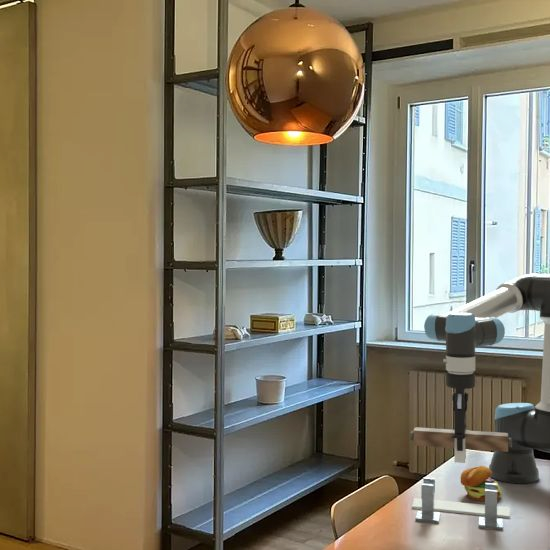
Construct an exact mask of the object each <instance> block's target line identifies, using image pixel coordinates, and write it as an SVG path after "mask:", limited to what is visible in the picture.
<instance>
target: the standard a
mask: <svg viewBox="0 0 550 550" xmlns="http://www.w3.org/2000/svg"><path fill="white" fill-rule="evenodd" d="M422 482H423V483H421V486H420V487H421V488H420V489H421V492H420V493H421V494H420V495H421V496H420V497H421V498H420V499H422V509H421V510H420V509H417V512H416V516H415V522H420V523H421V522H422V523H430V524H439V523H440V518H441V512H439V511H434V500H435V493H436V478H435V477H427V476H426V477H425V476H424V477H423V479H422Z"/></svg>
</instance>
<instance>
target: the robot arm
mask: <svg viewBox="0 0 550 550" xmlns="http://www.w3.org/2000/svg"><path fill="white" fill-rule="evenodd" d="M519 311H537V312H539V318H540V320H542V321H543V323H544V331H543V332H544V333H543V349H542V350H543V351H542V352H543V353H542V365H541V366H542V369H541V370H542V371H541V388H540V389H541V390H540V391H541V392H540V401H539V402H538V403H537V404H536V405H535V406H534V404H533V403H531V402H530V403H528V402H510V403H503V404H499V405H498V406H496V408H495V412H494V414H495V415H494V419H493V420H494V432H499V433H508V438H512V447H508V452H503V451H493V455H492V457H491V460H490V464H489V466H488V468H489V469H490V470H491V471H492V475H491V476H490V478H491V479H494V480H497V481H501V482H505V483H511V484H531V483H535V482H537V481H539V478H540V471H539V469H538V468H537V462H536V459H535V456H534V450H538V451H542V452H544V453H545V452H546V453H549V454H550V273H538V272H537V273H529V274H528V273H527V274H524V275H520V276H518V277H515V278H512V279H510V280H509V281H506V282H503V283H501V284H500V285H499V286H497V288H496V289H495V290H494V291H492V292H489V293H488V294H485V295H482V296H481V297H478V298H477V299H474V300H471V301H470V302H468V303H465V304H464V305H461V306H460V307H456V308H455V309H453V310H450V311H448V312H446V313H442V314H441V313H432V314H429V315H428V316H427V317H426V318H425V321H424V325H423V328H424V334H425V335H426V337H427V338H429V340H433V341H438V342H445V358H443V360H442V361H443V363H445V370H446V372H445V386H446V387H447V388H450V389H455V391H453V392H452V396H451V398H452V401H453V402H452V404H453V405H452V406H453V407H452V409H453V411H454V430H455V434H454V435H452V438H455V448H454V463H459V464H466V458H467V449H465V430H467V431H469V429H467V422H466V420H467V415H466V414H467V413H466V412H467V411H468V401H469V393H468V392H466V389H467V390H468V389H469V390H470V389H473V388H475V387H476V374H475V373H474V372H475V371H476V348H479V347H480V348H481V347H487V346H489V347H490V346H493V345H497V344H499V343H501V342H502V341H503V339H504V337H505V335H506V334H505V333H506V329H505V326H504V324H503V322H502V320H500V318H499V317H500V316H501V317H502V316H503V315H505V314H514V313H516V312H519Z"/></svg>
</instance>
